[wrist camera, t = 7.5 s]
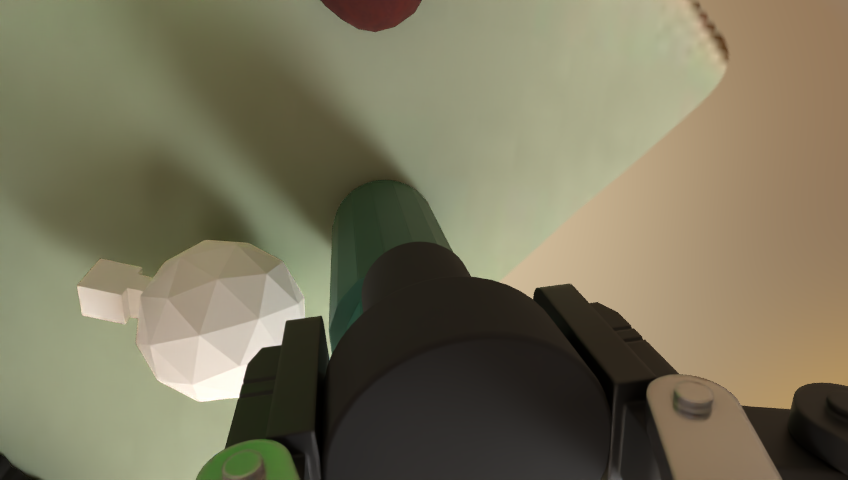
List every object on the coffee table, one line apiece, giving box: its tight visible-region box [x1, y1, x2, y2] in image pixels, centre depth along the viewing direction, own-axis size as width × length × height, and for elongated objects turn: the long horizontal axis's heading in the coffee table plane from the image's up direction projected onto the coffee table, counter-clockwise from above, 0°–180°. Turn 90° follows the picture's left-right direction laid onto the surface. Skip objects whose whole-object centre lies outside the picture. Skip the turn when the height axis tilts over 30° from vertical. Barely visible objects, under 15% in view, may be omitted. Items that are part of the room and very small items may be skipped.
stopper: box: [321, 241, 612, 480], centre depth 11 cm, size 5×5×6 cm
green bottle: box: [329, 180, 453, 353], centre depth 27 cm, size 6×6×17 cm
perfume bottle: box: [77, 240, 305, 402], centre depth 30 cm, size 9×9×12 cm
